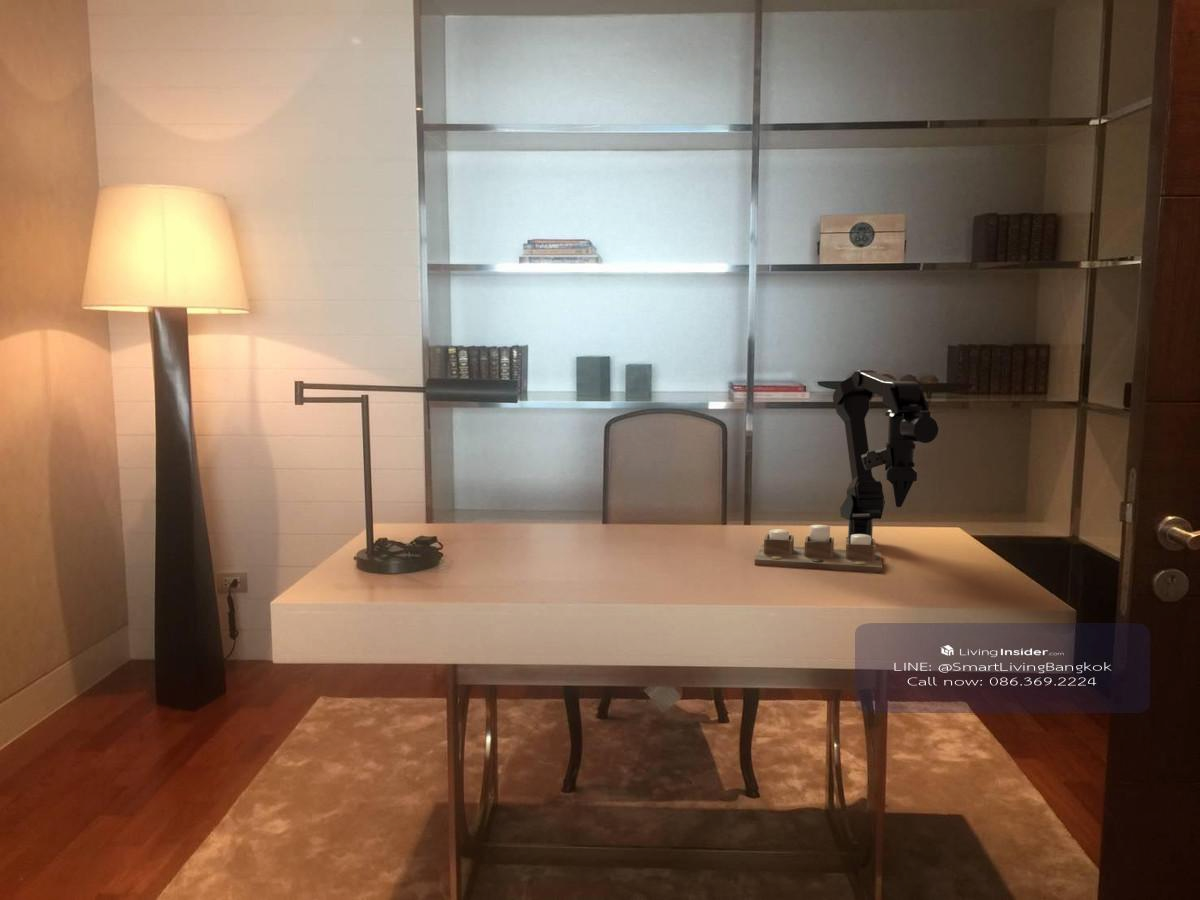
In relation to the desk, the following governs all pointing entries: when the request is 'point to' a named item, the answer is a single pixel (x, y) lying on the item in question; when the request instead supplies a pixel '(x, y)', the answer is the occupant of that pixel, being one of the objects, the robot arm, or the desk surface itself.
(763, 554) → the board
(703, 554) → the desk surface
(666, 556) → the desk surface
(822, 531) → the button
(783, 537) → the button
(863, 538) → the button
